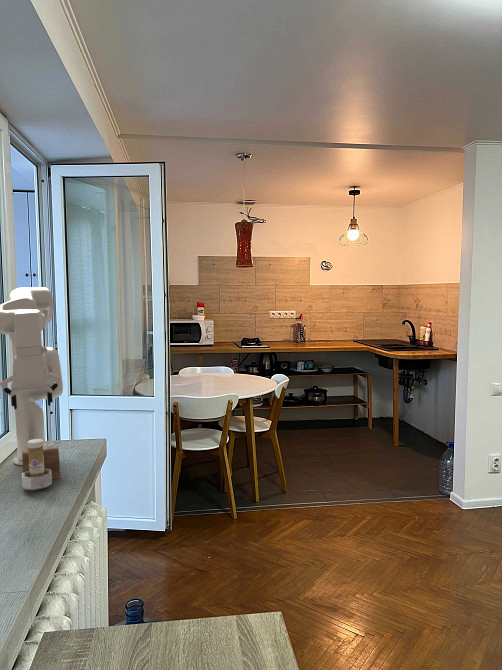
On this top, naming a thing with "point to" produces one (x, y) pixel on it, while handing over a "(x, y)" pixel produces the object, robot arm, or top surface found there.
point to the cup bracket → (36, 480)
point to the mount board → (46, 461)
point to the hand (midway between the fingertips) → (32, 406)
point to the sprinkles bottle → (36, 457)
